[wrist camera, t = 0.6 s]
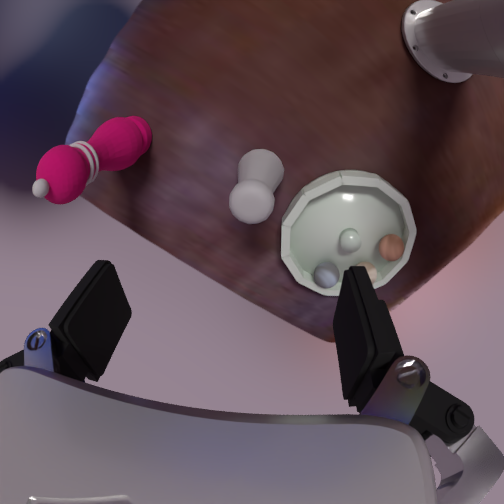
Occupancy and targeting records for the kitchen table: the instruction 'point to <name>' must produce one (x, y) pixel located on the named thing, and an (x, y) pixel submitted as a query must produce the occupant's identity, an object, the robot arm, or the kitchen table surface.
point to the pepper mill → (91, 158)
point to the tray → (345, 226)
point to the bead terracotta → (391, 247)
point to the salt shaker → (256, 186)
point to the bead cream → (369, 270)
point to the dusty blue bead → (326, 275)
